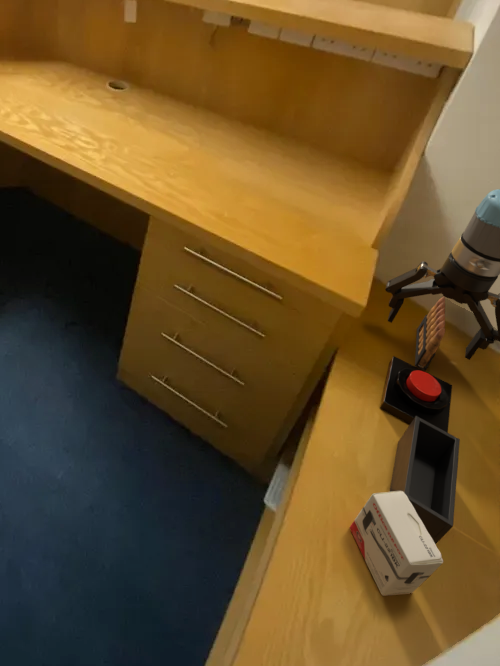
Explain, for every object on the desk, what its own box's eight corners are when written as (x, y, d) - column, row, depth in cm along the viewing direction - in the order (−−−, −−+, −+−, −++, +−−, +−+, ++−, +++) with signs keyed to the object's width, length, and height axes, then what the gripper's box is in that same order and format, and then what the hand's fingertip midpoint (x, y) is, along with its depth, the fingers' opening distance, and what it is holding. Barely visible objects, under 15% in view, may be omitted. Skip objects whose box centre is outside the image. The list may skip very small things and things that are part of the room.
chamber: (439, 464, 88) (459, 439, 84) (429, 550, 78) (453, 526, 73) (398, 441, 91) (416, 415, 87) (384, 520, 81) (403, 496, 76)
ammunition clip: (417, 328, 111) (439, 291, 105) (426, 332, 110) (449, 296, 104) (414, 366, 104) (438, 328, 97) (425, 371, 103) (450, 333, 97)
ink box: (347, 526, 80) (372, 491, 74) (376, 523, 81) (404, 488, 74) (381, 597, 73) (412, 565, 67) (413, 594, 73) (447, 561, 67)
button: (407, 371, 99) (411, 365, 98) (438, 386, 96) (442, 380, 95) (404, 391, 95) (408, 384, 94) (435, 407, 93) (440, 401, 92)
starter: (389, 362, 104) (396, 350, 102) (447, 391, 99) (456, 379, 97) (379, 408, 96) (387, 396, 94) (442, 442, 91) (451, 430, 89)
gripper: (394, 244, 98) (357, 315, 109) (564, 312, 85) (502, 385, 96) (400, 223, 103) (364, 293, 114) (561, 284, 90) (503, 356, 101)
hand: (427, 335), depth 105 cm, fingers open, 13 cm apart
